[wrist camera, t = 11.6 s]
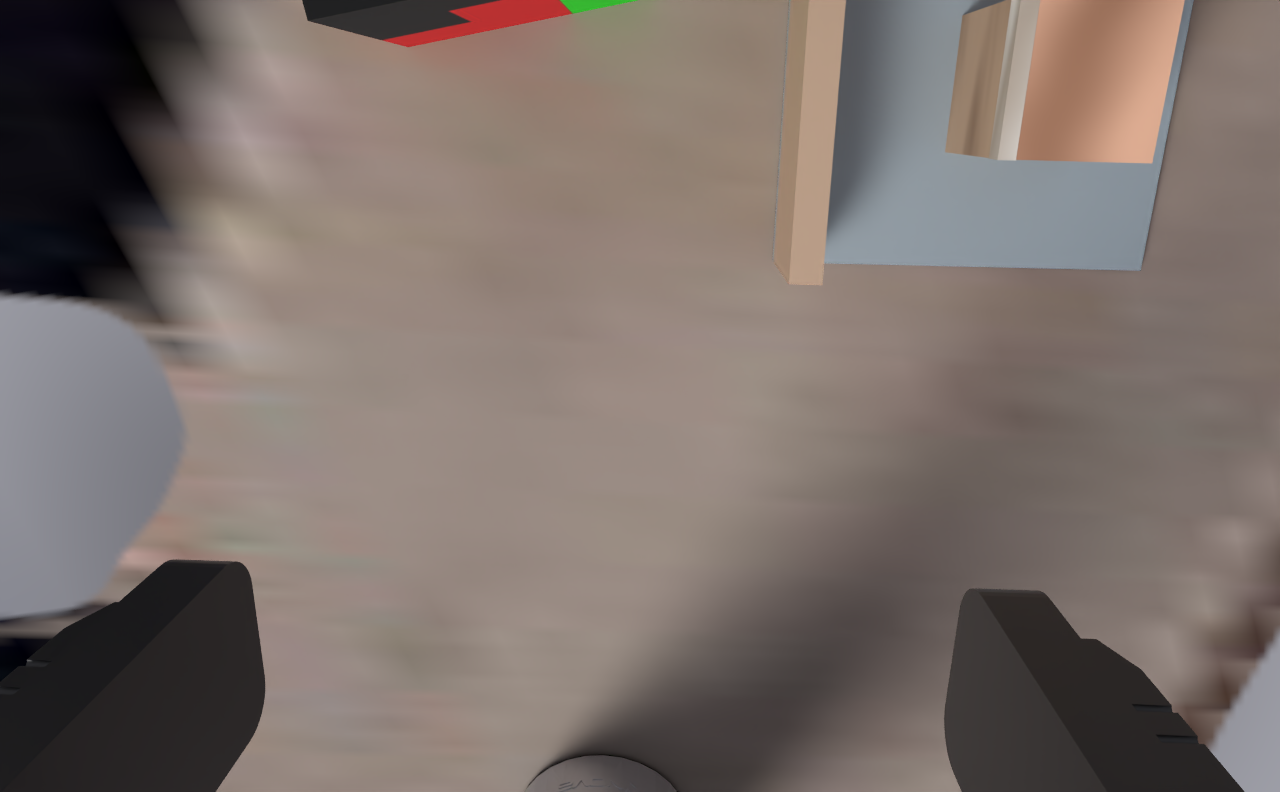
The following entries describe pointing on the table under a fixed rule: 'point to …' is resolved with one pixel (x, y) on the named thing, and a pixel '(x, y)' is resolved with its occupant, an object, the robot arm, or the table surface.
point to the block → (1063, 80)
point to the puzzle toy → (437, 16)
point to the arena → (930, 157)
